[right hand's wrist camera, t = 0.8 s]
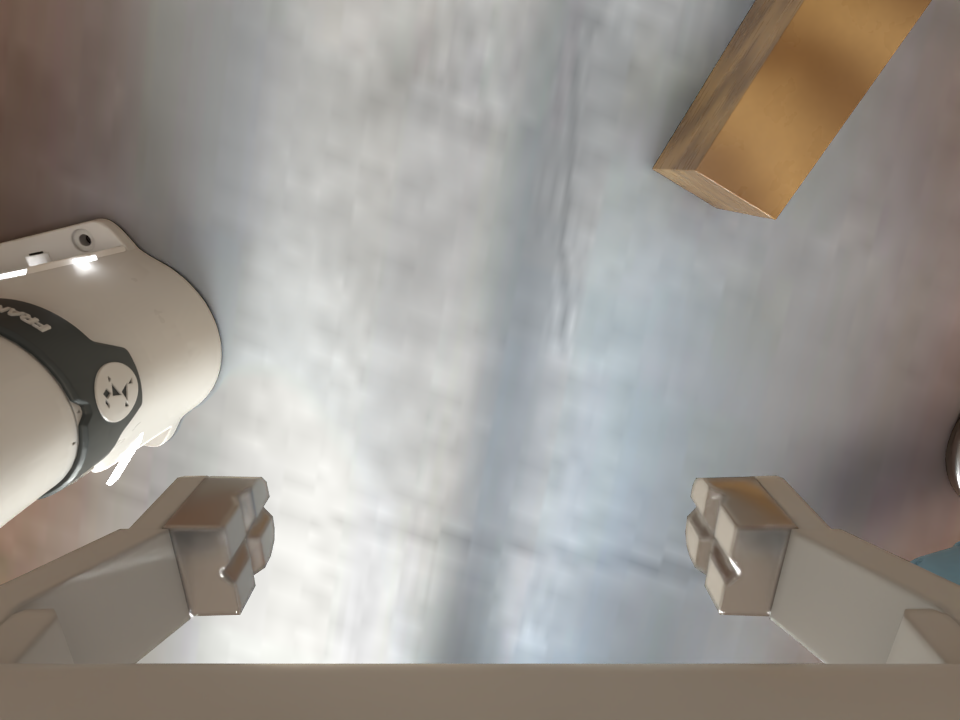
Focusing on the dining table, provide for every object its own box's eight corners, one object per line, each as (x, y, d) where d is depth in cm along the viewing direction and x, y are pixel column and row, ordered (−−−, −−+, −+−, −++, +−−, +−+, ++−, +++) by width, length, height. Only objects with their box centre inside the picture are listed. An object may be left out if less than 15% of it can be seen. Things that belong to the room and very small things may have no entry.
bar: (717, 208, 40) (775, 220, 31) (651, 169, 39) (695, 170, 31) (945, -133, 32) (1096, -231, 24) (872, -191, 32) (1003, -312, 24)
